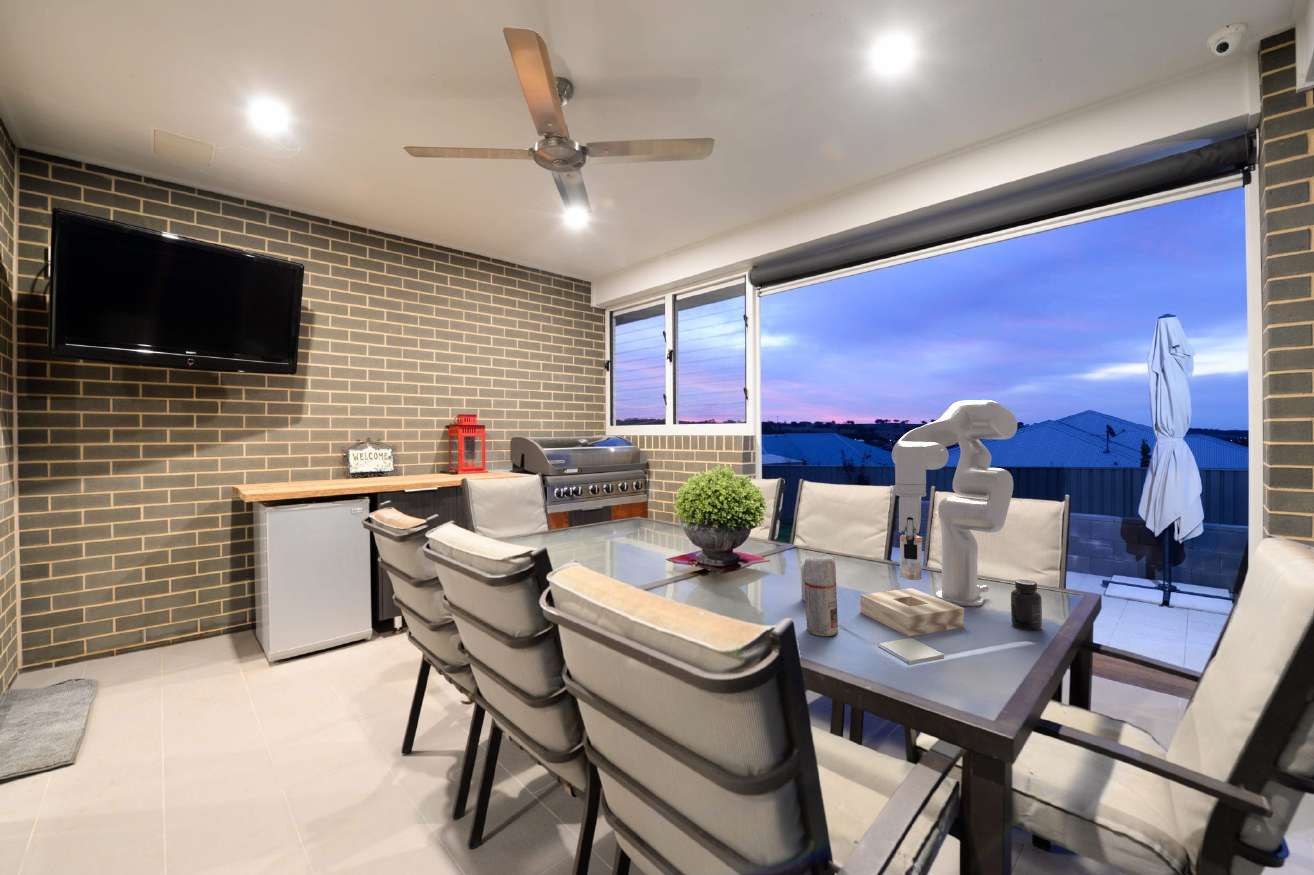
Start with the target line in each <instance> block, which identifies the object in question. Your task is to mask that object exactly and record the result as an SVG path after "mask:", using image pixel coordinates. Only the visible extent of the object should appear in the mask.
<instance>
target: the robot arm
mask: <svg viewBox="0 0 1314 875" xmlns="http://www.w3.org/2000/svg"><path fill="white" fill-rule="evenodd" d="M1017 430H1018V421H1017V418H1016V417H1015V414H1014V413H1013V412H1012V411H1010V410H1009V409H1007V408H1006V407H1005V406H1004V405H1002V404H1001V403H998V402H997V401H993V400H988V399H986V400H985V399H982V400H980V399H979V400H960V401H956V402H954V403H952V404H951V405H950V406H948V407H947V408H946V410H944V411H943V413H941V415H940V416H939V417H938V418H937V419H936V420H935V421H933V422H930V423H926V424H924V425H922V426H920V427H916V428H914V429H912V430H909V431H908V432H906V433H905V434H903V436H901V438H900V439H898V440H897V441H896V443H895V444H894V446H893V447H892V451H891V459H892V462H893V463H894V471H895V474H894V476H895V478H894V479H895V480H894V481H895V482H894V483H895V485H894V486H895V487H894V488H895V496H898V497H899V498H898V499H899V502H898V532H899V533H901V534H902V532H903V533H904V535H905V543H904V558H905V559H913V560H917V544H916V536H918V534H919V532H920V527H921V520H922V516H921V515H922V498H923V497H927V470H939V469H942V468H943V467H945V466H946V465H947V463H948V461H949V458H950V456H949V451H948V448H947V447H950V446H953V445H955V444H957V443H958V445H959V448H960V449H959V450H960V456H959V459H958V463H957V466H956V470H955V472H954V476H953V479H952V490H953V491H954V492H955V494H956V495H958V496H955V495H953V496H947V497H944V498H942V499H941V501H940V502H939V504H938V509H937V512H938V518H939V524H940V529H941V530H940V531H941V590H938V591H936V593H935V597H936V598H939V599H942V600H944V601H947V602H949V603H952V604H955V605H957V606H960V607H978V606H981V605H983V604H984V598H983V597H982V596H980V594H982V593H987V592H989V587H988V585H985V584H984V585H978V558H979V557H978V556H979V554H978V550H979V549H978V542H977V540H976V537H975V535H974V534H973V532H971V531H977V532H983V533H984V532H985V533H992V534H993V533H999V532H1000V531H1001V530H1002V529H1003V528H1004V525H1005V522H1006V519H1007V515H1008V512H1009V508H1010V505H1011V504H1010V503H1011V501H1012V497H1013V491H1014V479H1013V476H1012V474H1011V472H1010V471H1008V470H1006V469H1004V468H998V467H990V466H991V463H992V454H991V453H990V451H989V449H988V448H987V447H986V446H985V445H984V444H983V442H981V440H1009V439H1011V438H1013V437H1014V436H1015V435H1016V433H1017ZM913 535H914V536H913Z"/></svg>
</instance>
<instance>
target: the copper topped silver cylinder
mask: <svg viewBox="0 0 1314 875" xmlns="http://www.w3.org/2000/svg"><path fill="white" fill-rule="evenodd" d="M913 536H914V535H913ZM904 543H905V534H901V535H900V536H899V577H900V578H902V579H905V580H910V581H911V580H912V581H919V580H922V579H923V576H922V575H923V574H922V573H923V570H922V569H923V536H920V535H917V536H916V544H917V560H913V559H905V558H904Z"/></svg>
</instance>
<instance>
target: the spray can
mask: <svg viewBox="0 0 1314 875" xmlns="http://www.w3.org/2000/svg"><path fill="white" fill-rule="evenodd" d="M804 562H805V566H804V582H805V599H806V602H805V614H806V617H805V618H806V621H805V622H806V631H807V632H808V633H809V634H812V635H814V636H818V637H832V636H835V635H837V634H838V632H839V628H838V626H839V625H838V624H839V623H838V622H839V620H838V603H837V602H838V596H837V573H836V572H837V571H836V562H835V560H834V557H832V556H831V555H830V554H822V555H819V556H817V557H811V558H806V559H805V561H804Z"/></svg>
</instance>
